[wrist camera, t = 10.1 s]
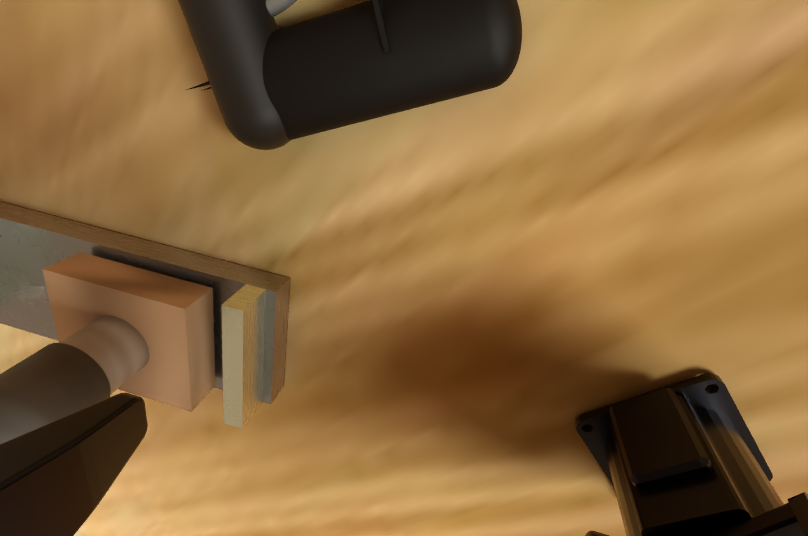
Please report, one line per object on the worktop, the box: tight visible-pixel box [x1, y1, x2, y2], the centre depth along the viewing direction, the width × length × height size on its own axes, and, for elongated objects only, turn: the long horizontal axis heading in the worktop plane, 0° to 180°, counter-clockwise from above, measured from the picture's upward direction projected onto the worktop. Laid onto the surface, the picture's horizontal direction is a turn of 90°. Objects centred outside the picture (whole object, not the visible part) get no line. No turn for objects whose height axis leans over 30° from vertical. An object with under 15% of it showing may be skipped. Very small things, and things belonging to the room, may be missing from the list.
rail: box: [0, 202, 290, 429], centre depth 21 cm, size 22×9×8 cm, turn 80°
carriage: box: [0, 252, 215, 444], centre depth 17 cm, size 7×6×12 cm
